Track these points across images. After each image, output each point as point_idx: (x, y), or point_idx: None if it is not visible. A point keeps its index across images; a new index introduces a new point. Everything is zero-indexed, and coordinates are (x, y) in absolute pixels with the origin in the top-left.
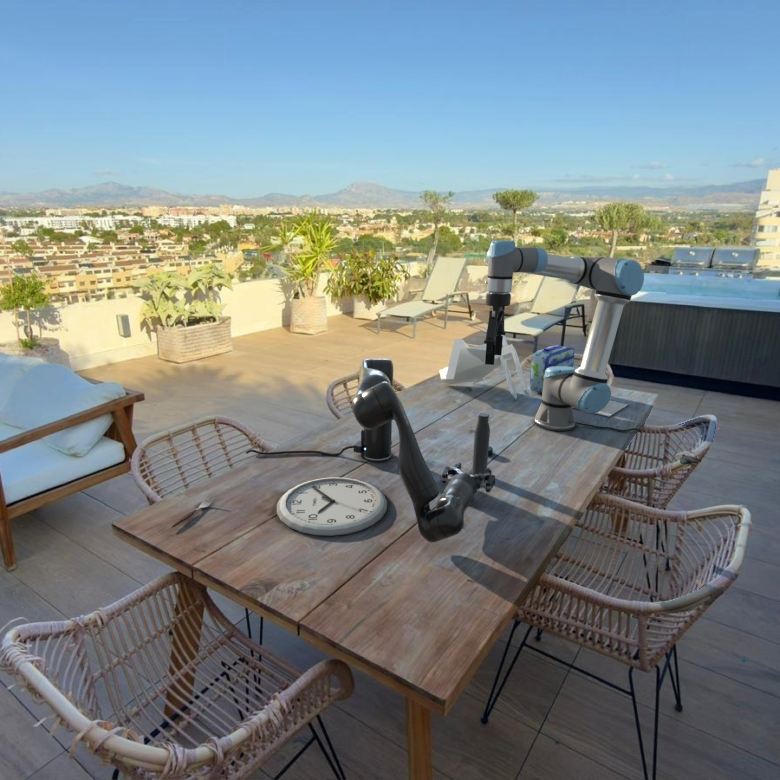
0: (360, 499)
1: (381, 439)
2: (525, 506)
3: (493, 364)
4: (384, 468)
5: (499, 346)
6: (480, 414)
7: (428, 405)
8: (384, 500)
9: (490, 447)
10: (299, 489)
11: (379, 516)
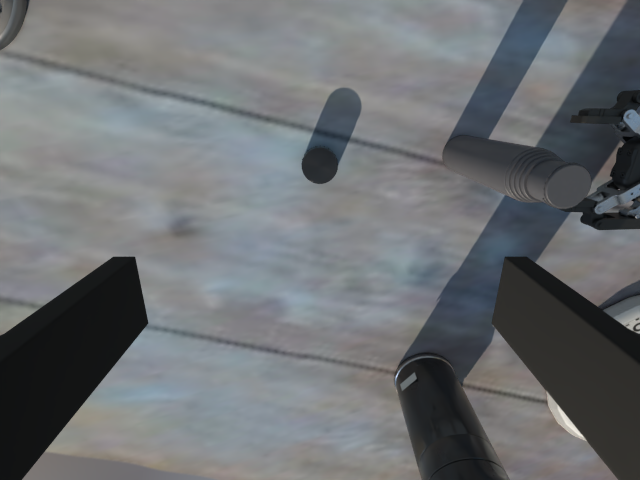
0: None
1: (469, 402)
2: (604, 5)
3: (529, 260)
4: (476, 347)
5: (84, 324)
6: (567, 199)
7: None
8: (637, 304)
9: (310, 155)
10: None
11: None
